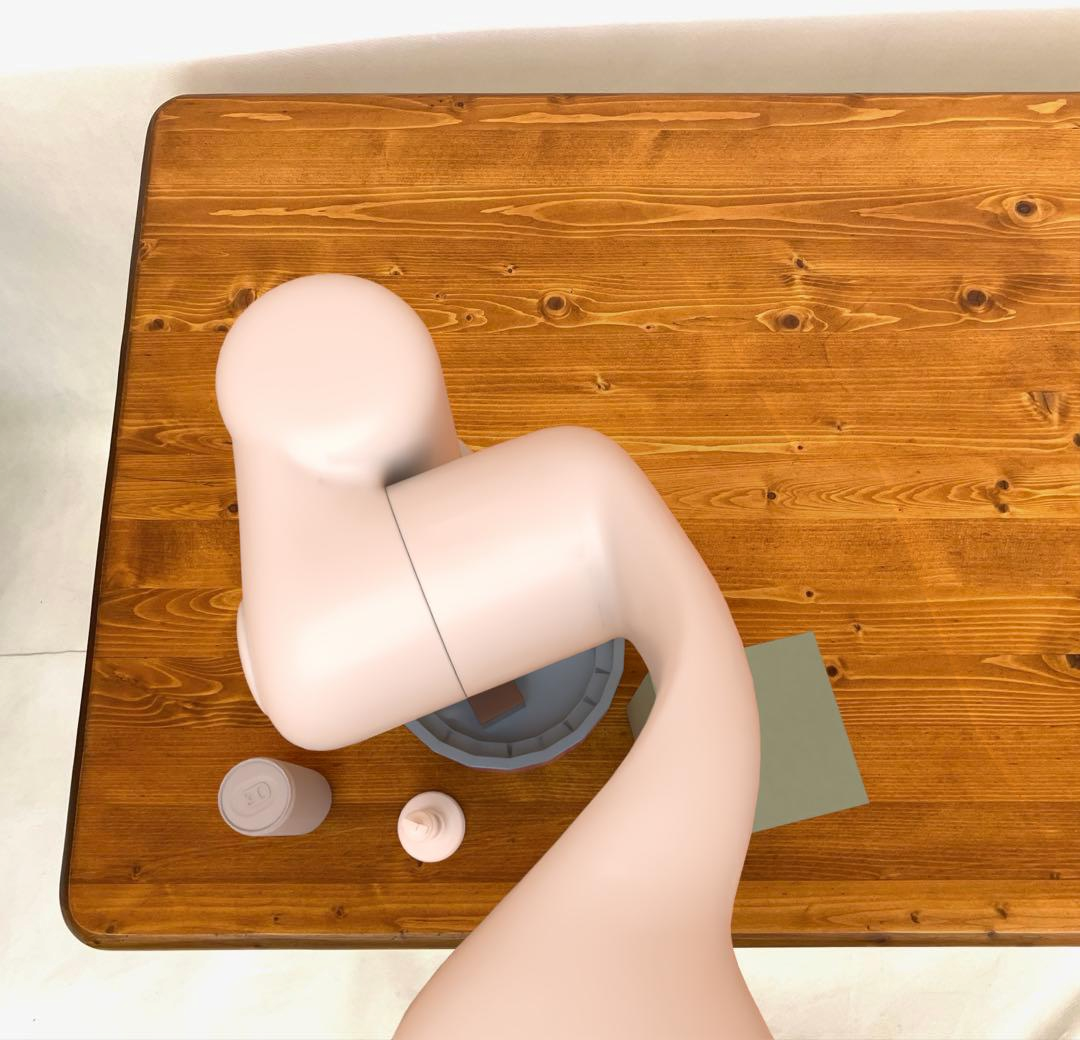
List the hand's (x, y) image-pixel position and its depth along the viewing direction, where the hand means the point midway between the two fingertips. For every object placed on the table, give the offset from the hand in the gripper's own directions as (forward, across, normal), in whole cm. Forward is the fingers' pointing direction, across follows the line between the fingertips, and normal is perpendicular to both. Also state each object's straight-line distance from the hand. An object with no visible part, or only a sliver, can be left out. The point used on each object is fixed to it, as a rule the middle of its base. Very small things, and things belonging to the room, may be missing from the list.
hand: (427, 581), depth 60 cm
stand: (+16, +17, -14) cm, 27 cm away
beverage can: (+16, -13, -10) cm, 23 cm away
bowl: (+16, +4, -3) cm, 17 cm away
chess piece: (+16, -4, -14) cm, 22 cm away
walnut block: (+16, +2, -6) cm, 17 cm away
